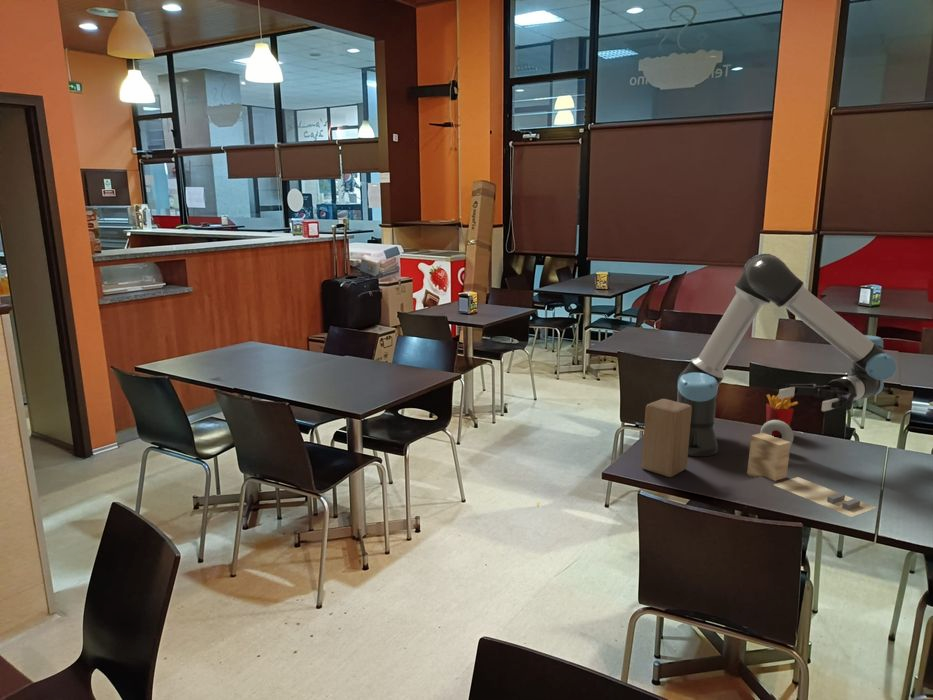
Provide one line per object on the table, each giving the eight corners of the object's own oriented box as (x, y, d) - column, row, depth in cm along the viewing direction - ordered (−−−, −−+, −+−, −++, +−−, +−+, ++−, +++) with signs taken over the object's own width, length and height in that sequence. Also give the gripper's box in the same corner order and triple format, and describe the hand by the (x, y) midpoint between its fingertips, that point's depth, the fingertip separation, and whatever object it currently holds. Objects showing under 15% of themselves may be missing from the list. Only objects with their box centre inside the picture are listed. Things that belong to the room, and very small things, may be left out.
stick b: (842, 507, 173) (842, 502, 173) (853, 503, 175) (854, 498, 175) (848, 510, 172) (848, 505, 171) (859, 505, 174) (860, 500, 174)
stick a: (827, 501, 176) (827, 496, 176) (838, 497, 179) (839, 492, 178) (832, 504, 175) (833, 499, 175) (844, 499, 177) (845, 495, 177)
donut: (756, 447, 218) (760, 418, 216) (760, 444, 221) (763, 415, 218) (789, 455, 212) (793, 425, 210) (793, 452, 214) (796, 422, 212)
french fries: (762, 430, 234) (767, 388, 231) (785, 430, 234) (790, 388, 231) (774, 439, 225) (779, 396, 222) (798, 439, 226) (804, 396, 222)
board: (772, 489, 187) (773, 484, 186) (797, 481, 192) (797, 476, 192) (850, 522, 168) (851, 517, 168) (875, 512, 174) (876, 507, 173)
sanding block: (747, 474, 197) (751, 435, 194) (758, 471, 199) (762, 432, 197) (774, 485, 189) (779, 445, 187) (785, 482, 192) (790, 442, 189)
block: (639, 468, 200) (644, 404, 196) (657, 460, 207) (662, 397, 202) (670, 479, 193) (676, 412, 189) (687, 469, 200) (693, 404, 195)
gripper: (884, 413, 196) (841, 425, 186) (804, 391, 217) (761, 401, 207) (888, 388, 194) (844, 398, 184) (807, 369, 215) (764, 377, 205)
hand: (800, 400), depth 195 cm, fingers open, 13 cm apart
